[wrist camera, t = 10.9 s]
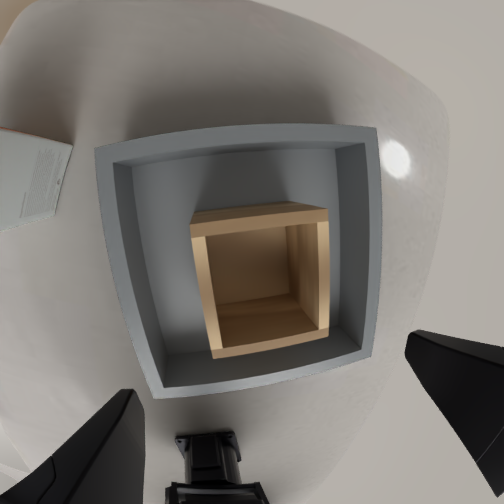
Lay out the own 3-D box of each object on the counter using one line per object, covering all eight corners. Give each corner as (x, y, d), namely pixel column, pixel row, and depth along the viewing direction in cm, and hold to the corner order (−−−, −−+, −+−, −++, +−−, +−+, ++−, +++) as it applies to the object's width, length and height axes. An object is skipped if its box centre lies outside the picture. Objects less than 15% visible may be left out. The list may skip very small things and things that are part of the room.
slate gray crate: (342, 326, 23) (371, 356, 18) (160, 358, 20) (154, 399, 16) (338, 137, 19) (376, 127, 14) (120, 156, 16) (94, 148, 12)
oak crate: (295, 296, 20) (328, 336, 14) (208, 310, 19) (213, 359, 13) (289, 200, 18) (327, 208, 12) (194, 211, 17) (189, 224, 11)
